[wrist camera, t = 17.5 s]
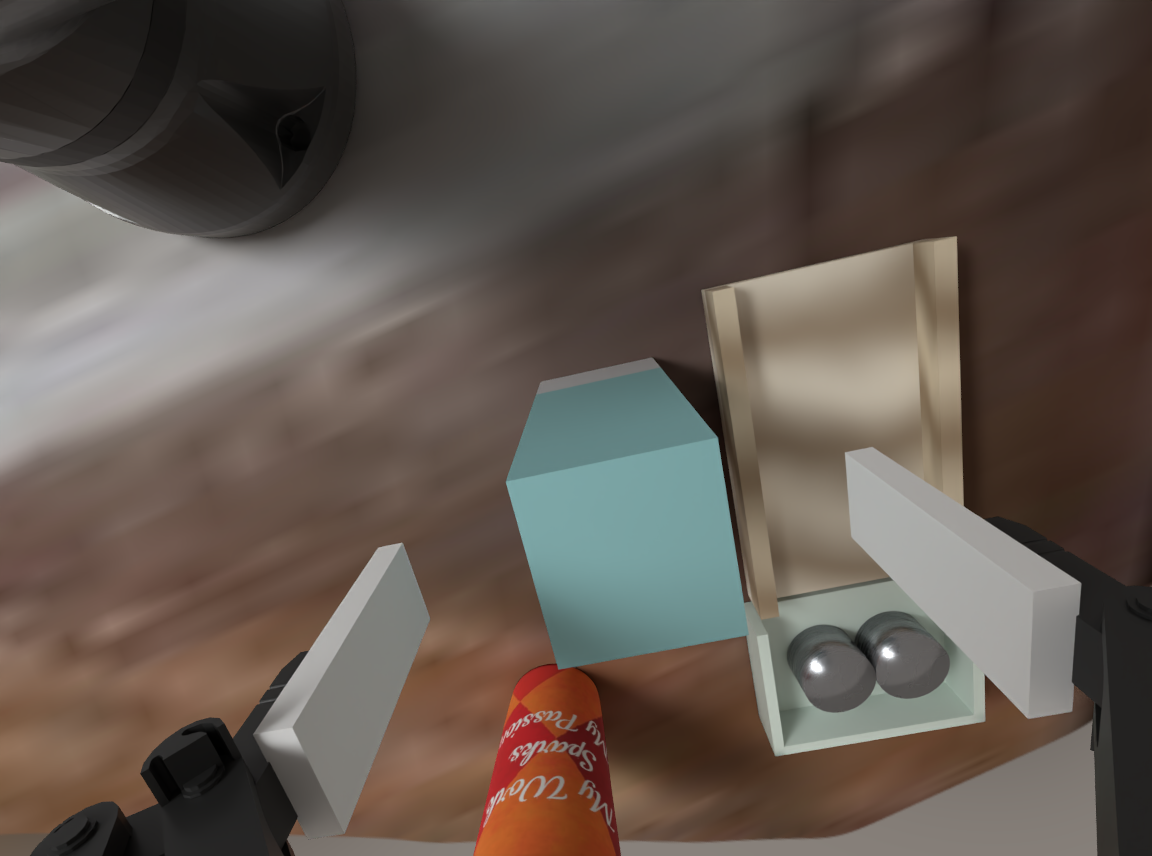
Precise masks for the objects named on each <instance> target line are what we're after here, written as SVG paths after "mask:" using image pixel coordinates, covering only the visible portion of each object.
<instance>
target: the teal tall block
mask: <svg viewBox="0 0 1152 856" xmlns="http://www.w3.org/2000/svg"><path fill="white" fill-rule="evenodd" d="M506 484H507V488H508V491H509V495H510V498H511V502H512V505H513V509H514V513H515V516H516V520H517V523H518V527H519V530H520V534H521V538H522V541H523V545H524V548H525V552H526V555H527V559H528V563H529V566H530V570H531V573H532V577H533V580H534V584H535V588H536V591H537V595H538V598H539V602H540V605H541V609H542V613H543V616H544V620H545V623H546V627H547V630H548V634H549V638H550V641H551V645H552V648H553V652H554V655H555V659H556V663H557V666H558V670H560V669H565V668H571V667H576V666H582V665H587V664H593V663H598V662H604V661H609V660H615V659H620V658H625V657H631V656H636V655H642V654H647V653H653V652H658V651H664V650H669V649H675V648H680V647H686V646H691V645H697V644H702V643H708V642H713V641H719V640H724V639H730V638H735V637H741V636H746V635H749V632H748V626H747V620H746V613H745V607H744V601H743V594H742V588H741V582H740V575H739V569H738V563H737V557H736V550H735V544H734V538H733V531H732V525H731V519H730V512H729V506H728V500H727V493H726V487H725V481H724V474H723V468H722V462H721V455H720V449H719V443H718V437H717V436H716V435H715V434H714V432H713V431H712V430H711V429H710V428H709V426H708V425H707V424H706V423H705V421H704V420H703V419H702V418H701V416H700V415H699V414H698V413H697V412H696V410H695V409H694V408H693V407H692V405H691V404H690V403H689V402H688V401H687V399H686V398H685V397H684V396H683V394H682V393H681V392H680V391H679V389H678V388H677V387H676V386H675V385H674V383H673V382H672V381H671V380H670V378H669V377H668V376H667V375H666V374H665V372H664V371H663V370H662V369H661V367H660V366H659V365H658V364H657V362H656V361H655V360H654V359H653V358H647V359H642V360H638V361H633V362H629V363H624V364H620V365H615V366H611V367H606V368H602V369H597V370H593V371H588V372H583V373H579V374H574V375H570V376H565V377H561V378H556V379H552V380H547V381H543V382H540V385H539V388H538V391H537V394H536V397H535V400H534V403H533V405H532V408H531V411H530V414H529V417H528V420H527V423H526V425H525V428H524V431H523V434H522V437H521V440H520V443H519V446H518V448H517V451H516V454H515V457H514V460H513V463H512V466H511V468H510V471H509V474H508V477H507V480H506Z"/></svg>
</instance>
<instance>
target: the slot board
mask: <svg viewBox="0 0 1152 856" xmlns="http://www.w3.org/2000/svg"><path fill="white" fill-rule="evenodd" d="M701 292H702V299H703V305H704V312H705V318H706V325H707V331H708V338H709V344H710V351H711V357H712V363H713V370H714V376H715V383H716V389H717V396H718V402H719V409H720V415H721V422H722V428H723V434H724V441H725V447H726V454H727V460H728V467H729V473H730V480H731V486H732V493H733V499H734V506H735V512H736V518H737V525H738V531H739V538H740V544H741V551H742V557H743V564H744V570H745V577H746V583H747V590H748V595H749V597H750V599H751V601H752V603H753V605H754V607H755V609H756V611H757V613H758V614H759V616H760V618H761V620H763V619H769V618H774V617H779V610H778V603H777V598H780V597H786V596H791V595H796V594H802V593H807V592H812V591H818V590H823V589H829V588H834V587H839V586H845V585H850V584H855V583H861V582H866V581H871V580H877V579H882V578H888V577H890V576H889V575H888V574H887V573H886V572H885V571H884V570H883V569H882V568H881V567H880V566H879V565H878V564H877V563H876V562H875V561H874V560H873V559H872V558H871V557H870V556H869V555H868V554H867V553H866V552H865V551H864V549H863V548H862V547H861V546H860V545H859V544H858V543H857V542H856V541H855V540H854V539H853V538H852V537H851V526H850V513H849V500H848V487H847V474H846V461H845V452H850V451H854V450H859V449H864V448H869V447H873V448H875V449H876V450H878V451H879V452H881V453H882V454H884V455H885V456H887V457H889V458H890V459H892V460H893V461H895V462H896V463H898V464H899V465H901V466H902V467H904V468H905V469H907V470H908V471H910V472H912V473H913V474H915V475H916V476H918V477H919V478H921V479H922V480H924V481H925V482H927V483H928V484H930V485H931V486H933V487H935V488H936V489H938V490H939V491H941V492H942V493H944V494H945V495H947V496H948V497H950V498H951V499H953V500H954V501H956V502H958V503H959V504H961V505H962V506H964V500H963V461H962V422H961V383H960V344H959V305H958V266H957V236H956V237H944V238H932V239H923V240H918V241H914V242H910V243H905V244H901V245H896V246H892V247H888V248H883V249H879V250H874V251H870V252H866V253H861V254H857V255H852V256H848V257H844V258H839V259H835V260H831V261H826V262H822V263H817V264H813V265H809V266H804V267H800V268H795V269H791V270H787V271H782V272H778V273H773V274H769V275H765V276H760V277H756V278H751V279H747V280H743V281H738V282H734V283H729V284H725V285H721V286H716V287H712V288H708V289H703V290H701Z"/></svg>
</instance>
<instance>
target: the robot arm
mask: <svg viewBox="0 0 1152 856" xmlns="http://www.w3.org/2000/svg"><path fill="white" fill-rule="evenodd" d="M355 97H356V66H355V56H354V48H353V42H352V37H351V32H350V28H349V24H348V20H347V16H346V13H345V10H344V7H343V4H342V1H341V0H0V162H5V163H11V164H14V165H16V166H18V167H20V168H22V169H24V170H26V171H28V172H30V173H32V174H34V175H36V176H38V177H39V178H41V179H43V180H45V181H47V182H49V183H51V184H53V185H55V186H57V187H59V188H61V189H63V190H65V191H67V192H69V193H71V194H73V195H75V196H78V197H80V198H81V199H83V200H85V201H86V202H88V203H90V204H91V205H93V206H95V207H96V208H98V209H100V210H102V211H104V212H106V213H107V214H109V215H111V216H114V217H116V218H118V219H121V220H123V221H126V222H128V223H131V224H134V225H137V226H140V227H144V228H147V229H151V230H155V231H159V232H164V233H170V234H178V235H188V236H200V237H215V238H223V237H236V236H243V235H248V234H253V233H256V232H259V231H263V230H265V229H268V228H270V227H273V226H275V225H277V224H279V223H281V222H283V221H285V220H286V219H288V218H290V217H291V216H293V215H294V214H296V213H297V212H298V211H300V210H301V209H302V208H303V207H304V206H306V205H307V204H308V203H309V202H310V201H311V200H312V199H313V198H314V197H315V196H316V195H317V194H318V192H319V191H320V190H321V189H322V187H323V186H324V185H325V184H326V182H327V181H328V179H329V178H330V176H331V175H332V173H333V171H334V169H335V168H336V166H337V164H338V162H339V160H340V158H341V155H342V153H343V151H344V148H345V145H346V143H347V139H348V136H349V132H350V129H351V124H352V120H353V114H354V107H355ZM845 461H846V474H847V487H848V500H849V513H850V526H851V537H852V538H853V539H854V540H855V541H856V542H857V543H858V544H859V545H860V546H861V547H862V548H863V549H864V551H865V552H866V553H867V554H868V555H869V556H870V557H871V558H872V559H873V560H874V561H875V562H876V563H877V564H878V565H879V566H880V567H881V568H882V569H883V570H884V571H885V572H886V573H887V574H888V575H889V576H890V577H891V578H892V579H893V580H894V581H895V582H896V583H897V584H898V585H899V586H900V587H901V589H902V590H903V591H904V592H905V593H906V594H907V595H908V596H909V597H910V598H911V599H912V600H913V601H914V602H915V603H916V604H917V605H918V606H919V607H920V608H921V609H922V610H923V611H924V612H925V613H926V614H927V615H928V616H929V617H930V618H931V619H932V620H933V621H934V622H935V623H936V624H937V626H938V627H939V628H940V629H941V630H942V631H943V632H944V633H945V634H946V635H947V636H948V637H949V638H950V639H951V640H952V641H953V642H954V643H955V644H956V645H957V646H958V647H959V648H960V649H961V650H962V651H963V652H964V653H965V654H966V655H967V656H968V657H969V658H970V659H971V660H972V661H973V663H974V664H975V665H976V666H977V667H978V668H979V669H980V670H981V671H982V672H983V673H984V674H985V675H986V676H987V677H988V678H989V679H990V680H991V681H992V682H993V683H994V684H995V685H996V686H997V687H998V688H999V689H1000V690H1001V691H1002V692H1003V693H1004V694H1005V695H1006V696H1007V697H1008V698H1009V699H1010V701H1011V702H1012V703H1013V704H1014V705H1015V706H1016V707H1017V708H1018V709H1019V710H1020V711H1021V712H1022V713H1023V714H1024V715H1025V716H1026V717H1027V718H1028V719H1031V718H1037V717H1043V716H1049V715H1055V714H1061V713H1067V712H1072V706H1073V692H1074V685H1075V686H1077V687H1078V688H1079V689H1080V690H1081V691H1082V692H1084V693H1085V694H1086V695H1087V696H1088V697H1089V698H1090V699H1092V700H1093V701H1094V713H1093V725H1092V736H1091V749H1090V750H1092V751H1094V757H1095V791H1096V819H1097V820H1096V821H1097V852H1098V856H1152V587H1144V586H1127V587H1126V586H1125V585H1123V584H1121V583H1120V582H1118V581H1116V580H1115V579H1113V578H1111V577H1110V576H1108V575H1106V574H1105V573H1103V572H1101V571H1100V570H1098V569H1097V568H1095V567H1093V566H1092V565H1090V564H1088V563H1087V562H1085V561H1083V560H1082V559H1080V558H1078V557H1077V556H1075V555H1073V554H1072V553H1070V552H1065V551H1064V549H1063V548H1062V547H1060V546H1058V545H1057V544H1055V543H1054V542H1052V541H1047V538H1045V537H1044V536H1042V535H1040V534H1039V533H1037V532H1035V531H1034V530H1032V529H1030V528H1029V527H1027V526H1025V525H1022V524H1019V523H1016V522H1013V521H1010V520H1007V519H1004V518H1001V517H993V518H988V519H982V518H981V517H979V516H978V515H976V514H974V513H973V512H971V511H970V510H968V509H967V508H965V507H964V506H962V505H961V504H959V503H958V502H956V501H954V500H953V499H951V498H950V497H948V496H947V495H945V494H944V493H942V492H941V491H939V490H938V489H936V488H935V487H933V486H931V485H930V484H928V483H927V482H925V481H924V480H922V479H921V478H919V477H918V476H916V475H915V474H913V473H912V472H910V471H908V470H907V469H905V468H904V467H902V466H901V465H899V464H898V463H896V462H895V461H893V460H892V459H890V458H889V457H887V456H885V455H884V454H882V453H881V452H879V451H878V450H876V449H875V448H873V447H869V448H864V449H859V450H854V451H850V452H845ZM429 620H430V617H429V614H428V611H427V608H426V606H425V603H424V600H423V597H422V595H421V592H420V589H419V586H418V584H417V581H416V578H415V575H414V573H413V570H412V567H411V564H410V562H409V559H408V556H407V553H406V551H405V548H404V545H403V543H399V544H394V545H389V546H384V547H379V548H378V549H377V550H376V552H375V553H374V555H373V556H372V558H371V559H370V561H369V562H368V564H367V565H366V567H365V568H364V570H363V571H362V573H361V574H360V576H359V577H358V579H357V580H356V582H355V583H354V585H353V586H352V588H351V589H350V591H349V592H348V594H347V595H346V597H345V598H344V600H343V601H342V603H341V604H340V605H339V607H338V608H337V610H336V611H335V613H334V614H333V616H332V617H331V619H330V620H329V622H328V623H327V625H326V626H325V628H324V629H323V631H322V632H321V634H320V635H319V637H318V638H317V640H316V641H315V643H314V644H313V646H312V647H311V649H310V650H309V651H305V652H300V653H299V654H298V655H297V656H296V657H295V658H294V659H293V660H292V661H290V662H289V663H288V664H287V665H286V666H285V667H284V668H283V669H282V670H281V671H280V673H279V674H278V675H277V677H276V678H275V680H274V681H273V683H272V684H271V685H270V690H267V691H266V692H265V694H264V695H263V697H262V698H261V700H260V704H258V705H256V707H255V708H254V709H253V711H252V712H251V714H250V715H249V717H248V718H247V719H246V721H245V722H244V724H243V725H242V726H241V728H240V729H239V731H238V732H237V734H236V735H235V736H234V738H233V739H232V737H231V735H230V733H229V731H228V729H227V728H226V726H225V724H224V723H223V722H222V720H221V719H220V718H206V719H203V720H199V721H196V722H194V723H192V724H190V725H187V726H185V727H183V728H181V729H180V730H178V731H177V732H175V733H174V734H172V735H171V736H170V737H168V738H167V739H165V740H164V741H163V742H162V743H161V744H160V745H159V746H158V747H157V748H156V749H154V750H153V751H152V753H151V754H150V755H149V757H148V758H147V759H146V761H145V762H144V764H143V767H142V770H141V773H140V774H141V775H142V777H143V779H144V780H145V782H146V783H147V785H148V787H149V788H150V790H151V791H152V793H153V795H154V796H155V798H156V799H157V801H158V804H156V805H154V806H151V807H149V808H147V809H145V810H142V811H140V812H138V813H135V814H133V815H131V816H128V817H125V815H124V814H123V812H122V811H121V809H120V808H119V806H118V805H116V804H115V803H114V802H101V803H98V804H95V805H93V806H90V807H87V808H85V809H84V810H82V811H80V812H78V813H77V814H75V815H72V816H71V817H69V818H68V819H66V820H65V821H63V823H62V824H59V825H58V826H57V827H56V828H55V829H53V830H52V831H51V833H50V834H49V835H48V836H47V837H46V838H45V839H44V840H43V841H42V842H41V843H40V844H39V845H38V846H37V847H36V848H35V849H34V851H33V852H32V854H31V855H30V856H295V855H294V852H293V850H292V848H291V846H290V844H289V843H288V840H287V838H288V836H289V834H290V832H291V830H292V828H293V826H294V824H295V822H296V820H298V822H299V824H300V825H301V827H302V829H303V831H304V833H305V835H306V837H307V839H308V840H310V839H316V838H322V837H328V836H334V835H340V834H345V831H346V829H347V826H348V824H349V821H350V819H351V816H352V814H353V811H354V809H355V806H356V804H357V801H358V799H359V796H360V794H361V791H362V789H363V786H364V784H365V781H366V779H367V776H368V774H369V771H370V769H371V766H372V764H373V761H374V758H375V756H376V753H377V751H378V748H379V746H380V743H381V741H382V738H383V736H384V733H385V731H386V728H387V726H388V723H389V721H390V718H391V716H392V713H393V711H394V708H395V706H396V703H397V701H398V698H399V696H400V693H401V691H402V688H403V686H404V683H405V681H406V678H407V676H408V673H409V671H410V668H411V666H412V663H413V661H414V658H415V656H416V653H417V650H418V648H419V645H420V643H421V640H422V638H423V635H424V633H425V630H426V628H427V625H428V623H429Z"/></svg>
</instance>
